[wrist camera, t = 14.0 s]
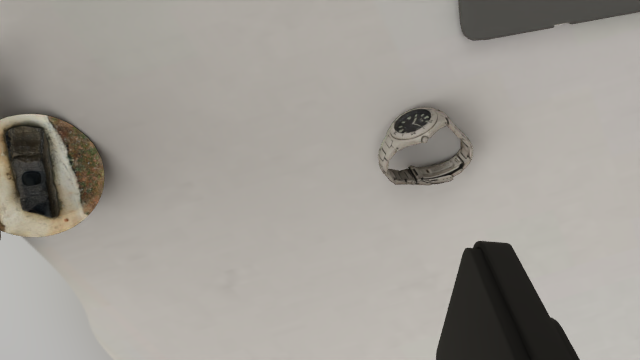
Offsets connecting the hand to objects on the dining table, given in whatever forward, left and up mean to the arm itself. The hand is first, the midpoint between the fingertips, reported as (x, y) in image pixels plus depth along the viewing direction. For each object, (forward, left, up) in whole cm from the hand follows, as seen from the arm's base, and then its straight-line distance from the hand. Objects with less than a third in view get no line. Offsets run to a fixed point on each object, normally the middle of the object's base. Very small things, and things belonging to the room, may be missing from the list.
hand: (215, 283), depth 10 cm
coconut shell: (-11, +13, -20) cm, 27 cm away
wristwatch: (-8, -10, -23) cm, 26 cm away
